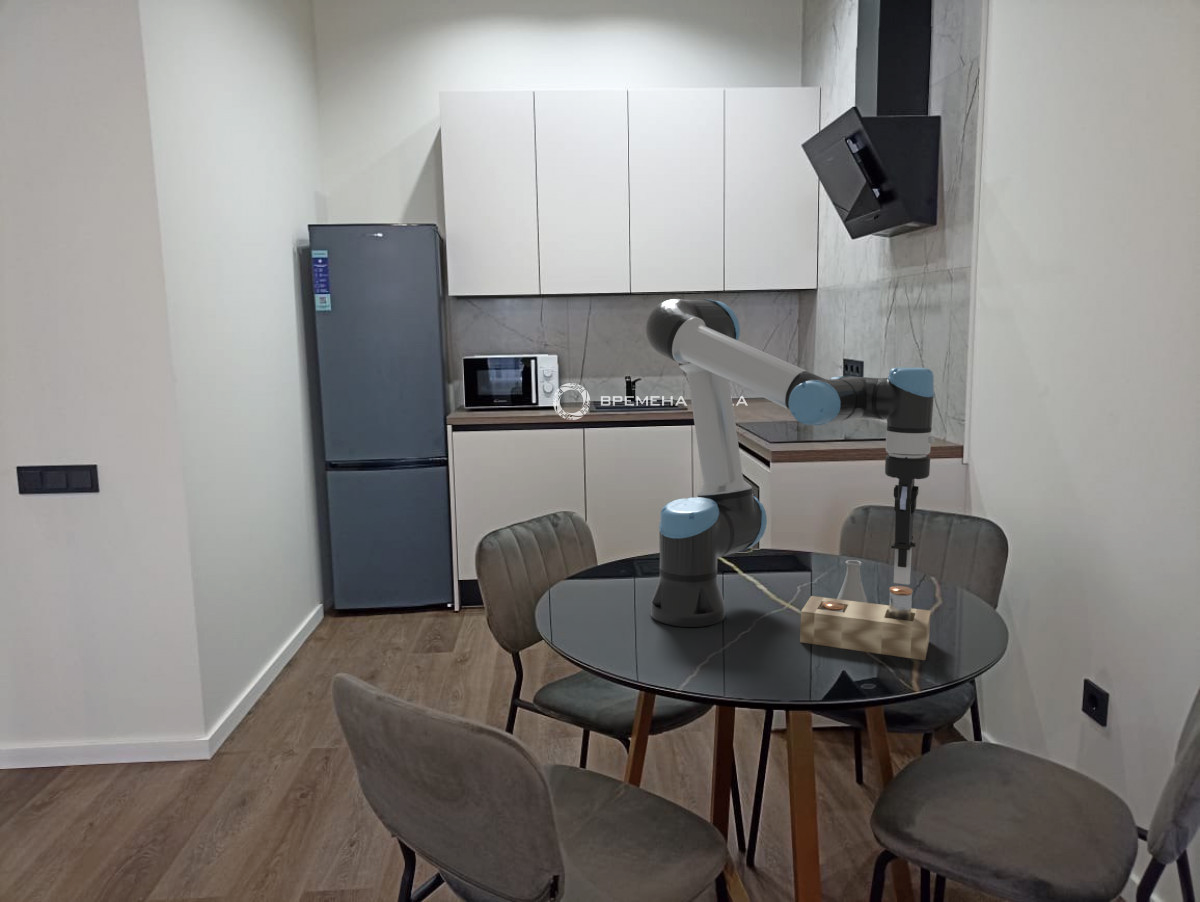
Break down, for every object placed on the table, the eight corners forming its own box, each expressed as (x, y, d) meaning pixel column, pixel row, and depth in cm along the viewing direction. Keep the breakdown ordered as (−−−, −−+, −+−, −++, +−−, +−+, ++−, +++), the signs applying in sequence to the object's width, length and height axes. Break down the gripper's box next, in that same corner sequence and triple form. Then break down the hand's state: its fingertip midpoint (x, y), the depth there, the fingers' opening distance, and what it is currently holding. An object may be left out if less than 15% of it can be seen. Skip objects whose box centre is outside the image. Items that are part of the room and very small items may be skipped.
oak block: (800, 642, 162) (801, 611, 161) (810, 625, 171) (811, 595, 170) (925, 660, 153) (927, 627, 152) (928, 641, 162) (930, 610, 161)
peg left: (819, 635, 164) (820, 606, 163) (823, 629, 167) (824, 600, 166) (841, 638, 162) (842, 609, 161) (844, 632, 166) (845, 602, 165)
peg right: (886, 621, 158) (888, 590, 157) (889, 614, 162) (890, 584, 161) (910, 624, 156) (911, 593, 156) (912, 617, 160) (913, 587, 159)
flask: (871, 615, 177) (873, 567, 176) (834, 612, 179) (836, 565, 177) (868, 604, 184) (870, 558, 183) (832, 601, 186) (834, 556, 184)
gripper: (927, 461, 147) (921, 595, 151) (932, 450, 159) (926, 575, 162) (881, 458, 150) (876, 590, 154) (889, 448, 162) (884, 571, 165)
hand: (901, 582), depth 158 cm, fingers closed
